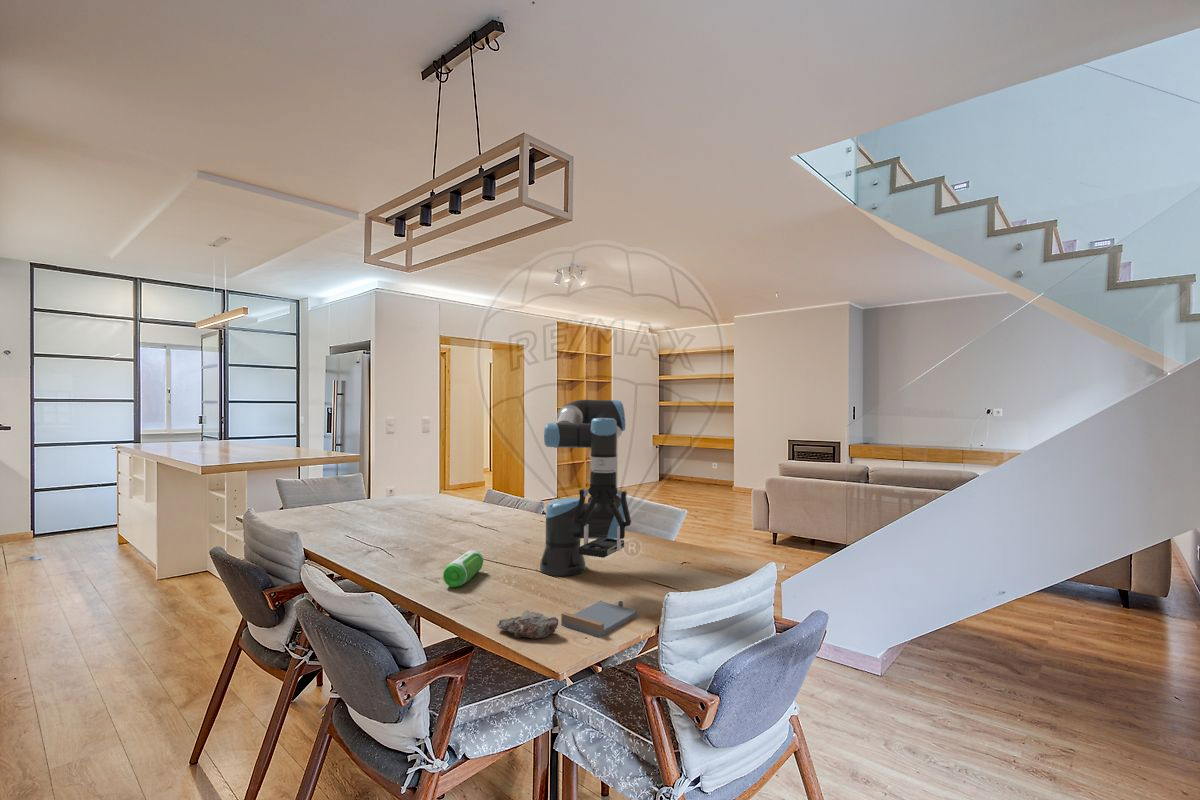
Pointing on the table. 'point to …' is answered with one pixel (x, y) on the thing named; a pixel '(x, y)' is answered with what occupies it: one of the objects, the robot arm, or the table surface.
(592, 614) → the board
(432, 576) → the table surface
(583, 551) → the vhs tape
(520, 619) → the mineral rock
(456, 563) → the speaker
